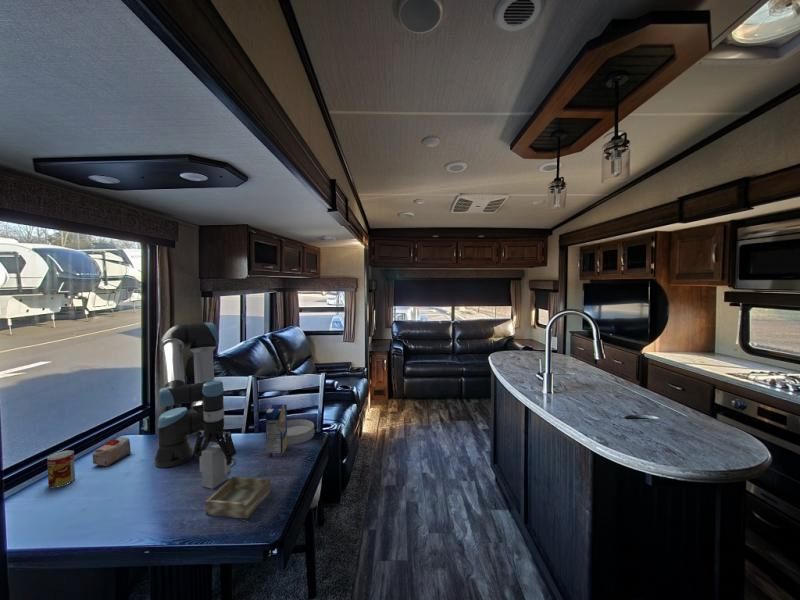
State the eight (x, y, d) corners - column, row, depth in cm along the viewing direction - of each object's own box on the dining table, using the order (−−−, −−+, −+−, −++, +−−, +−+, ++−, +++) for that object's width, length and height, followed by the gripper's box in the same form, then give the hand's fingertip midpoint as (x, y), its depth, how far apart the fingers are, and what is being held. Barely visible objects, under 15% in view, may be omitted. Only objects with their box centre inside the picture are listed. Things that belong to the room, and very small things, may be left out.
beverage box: (266, 457, 162) (265, 412, 162) (273, 447, 173) (272, 404, 172) (281, 457, 163) (280, 412, 162) (287, 446, 174) (286, 404, 173)
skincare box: (212, 489, 137) (211, 453, 137) (201, 487, 139) (200, 451, 138) (229, 478, 145) (228, 444, 145) (217, 476, 147) (217, 442, 146)
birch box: (205, 514, 122) (205, 501, 122) (233, 488, 138) (232, 476, 138) (247, 518, 120) (247, 504, 120) (270, 491, 136) (270, 479, 136)
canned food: (48, 483, 142) (47, 455, 141) (74, 475, 148) (73, 448, 147) (48, 490, 137) (47, 461, 136) (75, 482, 142) (74, 454, 142)
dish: (281, 427, 198) (281, 419, 198) (319, 427, 198) (319, 419, 197) (265, 445, 176) (265, 435, 176) (307, 445, 176) (307, 436, 175)
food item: (107, 468, 154) (106, 446, 153) (90, 467, 154) (90, 446, 154) (132, 453, 167) (132, 433, 167) (117, 453, 168) (116, 433, 167)
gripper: (181, 421, 139) (183, 474, 140) (233, 424, 136) (235, 478, 137) (195, 414, 146) (196, 464, 147) (244, 416, 143) (245, 468, 144)
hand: (215, 471), depth 142 cm, fingers open, 10 cm apart
